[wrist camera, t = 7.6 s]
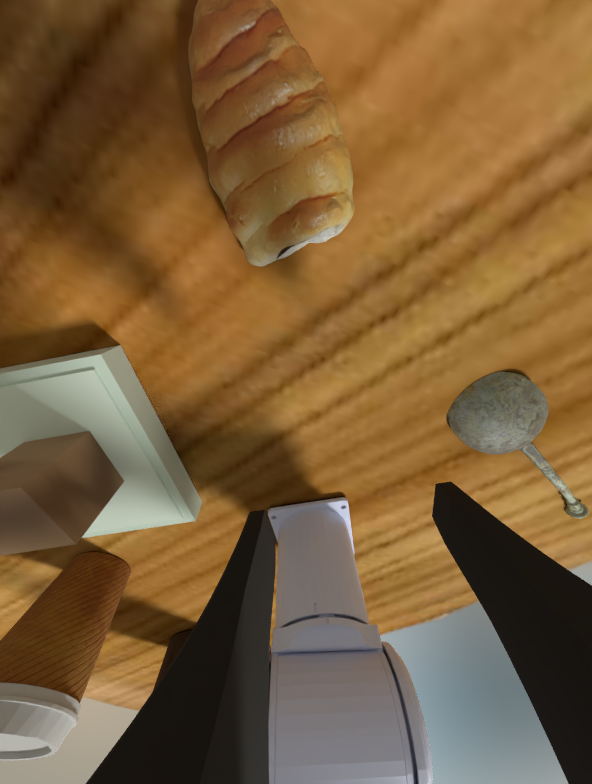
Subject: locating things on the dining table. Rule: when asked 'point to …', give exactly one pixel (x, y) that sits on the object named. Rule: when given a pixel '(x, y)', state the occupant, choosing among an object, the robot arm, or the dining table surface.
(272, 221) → the pastry
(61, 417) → the serving board
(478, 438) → the soupspoon
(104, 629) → the disposable coffee cup
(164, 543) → the dining table surface
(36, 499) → the walnut block
